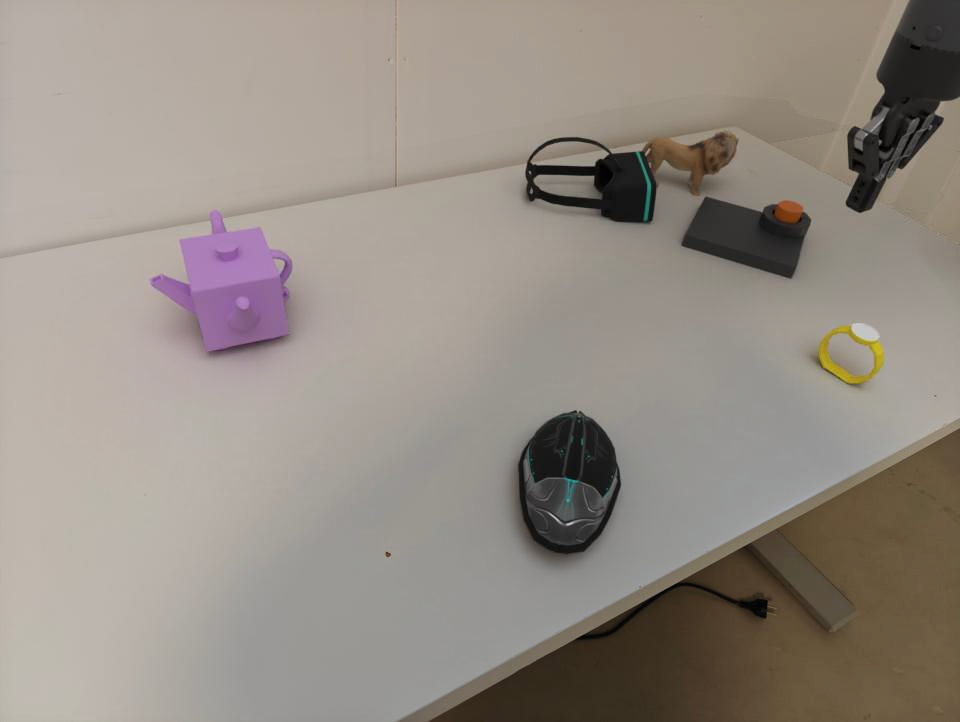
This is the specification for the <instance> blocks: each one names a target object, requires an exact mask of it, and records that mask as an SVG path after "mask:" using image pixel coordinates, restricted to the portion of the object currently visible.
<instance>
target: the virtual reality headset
mask: <svg viewBox="0 0 960 722" xmlns="http://www.w3.org/2000/svg"><path fill="white" fill-rule="evenodd" d="M568 142H578V143H585V144H590V145H594V146H597V147H598V148H600V149H603V150H604V151H605V152H606V153H608V154H607V155H606V156H605V157H604V158H598V159H597V160H596V161H595V163H594V165H563V164H561V165H557V164H554V165H552V164H536V163H534V164H533V163H532V162H531V161H532V160H533V159H534V157H535V156H536V155H537V154H538V153H540V152H541V151H542V150H544V149H545V148H546V147H548V146H551V145H554V144H558V143H568ZM650 168H651V165H650V163H648V161H647V158H646V153H644V151H642V150H637V151H626V152H625V151H624V152H613V153H612V151H611V150H610V149H609V148H608V147H606V146H605V145H604V144H602V143H601V142H598V141H597V140H593V139H590V138H585V137H580V136H567V137H566V136H565V137H563V136H562V137H557V138H553V139H549V140H546V141H545V142H543V143H542V144H540V145H539V146H538V147H536V149H534V151H532V153H531V154H530V156H529V157H528V159H527V161H526V166H525V170H524V175H525V179H526V182H527V183H526V187H525V193H526V195H527V198H528V200H529V202H534V201H536V200H541V201H544V202H546V203H549V204H551V205H558V206H561V207H562V206H563V207H571V208H582V209H591V210H592V209H594V210H600V214H601V216H603V217H604V218H605V217H609V218H612V220H614V221H615V222H652V221H653V220H654V214H655V206H656V198H657V190H658V189H657V188H658V187H657V185H656V181H657V180H656V179H655V175H654V176H653V174H652V171H651V169H650ZM538 176H570V177H593V186H594V188H595V189H596V190H597V191H599V192H600V193H602V194H601V198H593V197H583V196H582V197H581V196H573V195H572V196H569V195H561V194H560V195H559V194H555V193H551V192H548V191H546V190H542V189H541V187H540V186H538V185H536V183H535V181H534V180H535V179H536V178H537V177H538ZM531 191H532V192H531Z"/></svg>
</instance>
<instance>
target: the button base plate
mask: <svg viewBox="0 0 960 722" xmlns="http://www.w3.org/2000/svg"><path fill="white" fill-rule="evenodd" d="M777 205H778V203H771V204H769V205H766V206H764V207H763V210H762V211H760V210H756V209H753V208H750V207H746V206H742V205H739V204H735V203H731V202H727V201H724V200H721V199H717V198H714V197H709V196H704V198H703V200H702V201H701V204H700V205H699V207H698V209H697V210H696V212H695V215H694V217H693V218H692V221H691V222H690V224H689V226H688V227H687V229H686V231H685V233H684V236H683V239H682V242H681V247H682V248H686V249H690V250H693V251H695V252H701V253H702V254H707V255H709V256H714V257H716V258H720V259H723V260H726V261H730V262H734V263H736V264H739V265H744V266H747V267H750V268H753V269H757V270H760V271H762V272H766V273H770V274H773V275H776V276H780V277H782V278H783V277H784V278H787V279H790V280H792V279H793V276H794V274H795V271H796V270H797V267H798V263H799V261H800V256H801V252H802V248H803V245H804V241H805V237H806V235H807V233H808V231H809V229H810V226H811V223H812V218H811V217H810V216H809V215H808V213H807V212H805V211H803V212H802V214H801V217H800V219H799V221H798V222H797V223H788V222H784V221H781V220H779V219H777V218H775V217H774V213H775V210H776V208H777Z"/></svg>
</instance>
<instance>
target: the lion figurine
mask: <svg viewBox="0 0 960 722" xmlns="http://www.w3.org/2000/svg"><path fill="white" fill-rule="evenodd" d="M739 141H740V138H739V137H737V136H736V134H734V133H732V132H731V131H729V130H723V131H718V132H717V131H716V132H715V134H714V135H713V136H711V137H708V138H707V139H702V140H700V141H699V142H696V143H694V144H690V145H689V144H683V143H680V142H676V141H675V140H673V139H671V138H669V137H666V136H659V137H655V138H652V139H650V140H648V142H647V143H646V144H645V145H644V146H643V148H642V149H641V151H644V153H645V156H646V158H647V161H648V163H649V164H650V169H651V171H652V174H653V176H654V177H655V176H656V173H657V172H658V170H659V169H660V167H662V164H663V162H664V161H665V162H666V163H667V164H668V165H669V166H670V167H672V168H673V169H675V170H677V171H681V172H689V173H690V176H689V178H688V181H687V182H688V186H689V187H690V190H691V191H690V193H691V194H692V195H693V196H695V197H699V196H700V195H701V191H700V190H698V189H699V186H700V185H701V183H702V181H703V179H704V176H707V175H712V176H714V175H715V174H718V173H719V172H720V171H721V170H722V169H723V168H725V167H726V166H728V165H729V164H730V163H731V162H732V160H733V159H734V158H735V155H736V154H737V150H738V149H737V146H738V144H739ZM649 149H650V150H649ZM648 150H649V152H648ZM647 152H648V153H647ZM646 153H647V154H646ZM655 181H656V185H657V188H659V186H660V183H659V181H657V180H655Z"/></svg>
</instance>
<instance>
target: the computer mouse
mask: <svg viewBox="0 0 960 722" xmlns="http://www.w3.org/2000/svg"><path fill="white" fill-rule="evenodd" d="M517 468H518V469H517V470H518V472H517V473H518V494H519V497H518V498H519V503H520V508H521V513H522V514H521V515H522V518H523V522H524V523H525V526H526V528H527V530H528V532H529V534H530V537H531V538H532V540H533V542H535V543H536V544H539V545H540V546H542V547H543V548H544V549H546V550H548V551H550V552H553V553H555V554H561V555H570V554H577V553H583V552H586V550H587V549H589V547H590V546H592V544H594V542H595V541H596V540H597V539H598V538H599V537H601V535H602V533H603V531H604V530H605V528H606V526H607V524H608V523H609V521H610V519H611V516H612V514H613V511H614V508H615V504H616V502H617V499H618V496H619V493H620V491H621V487H622V481H621V473H620V472H621V471H620V467H619V464H618V461H617V454H616V448H615V446H614V444H613V441H612V440H611V439H610V437H609V435H608V434H607V432H606V431H605V430H604V428H603V427H602V426H601V425H600V424H599V423H598V422H597V421H596V420H595V419H594V418H592V417H590V416H587V415H586V414H585V413H583V412H582V411H581V410H579V411H578V410H577V409H575V410H572V411H569V412H563V413H560V414H558V415H556V416H553V417H551V418H550V419H549V420H547V421H545V422H544V423H543V424H542V425H541V426H540V427H538V429H537V430H536V432H535V433H534V435H532V437H531V438H530V440H529V441H528V442H527V444H526V445H525V446H524V447H523V450H522V452H521V455H520V458H519V461H518V464H517Z"/></svg>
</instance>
